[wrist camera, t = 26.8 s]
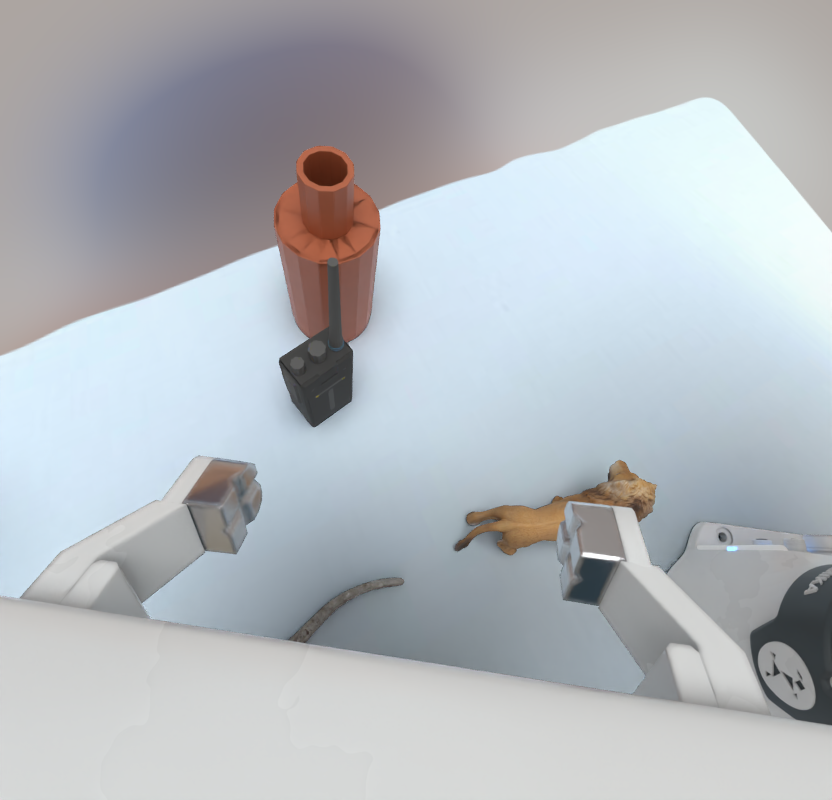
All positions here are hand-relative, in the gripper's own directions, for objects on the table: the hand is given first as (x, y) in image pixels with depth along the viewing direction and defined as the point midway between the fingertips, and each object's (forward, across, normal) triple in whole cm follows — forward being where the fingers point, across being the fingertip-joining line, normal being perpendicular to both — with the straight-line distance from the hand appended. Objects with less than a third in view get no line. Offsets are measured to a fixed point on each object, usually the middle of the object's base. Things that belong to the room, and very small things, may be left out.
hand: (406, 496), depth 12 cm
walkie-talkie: (+24, +11, +16) cm, 31 cm away
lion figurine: (+20, -9, +23) cm, 32 cm away
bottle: (+31, +12, +11) cm, 35 cm away
